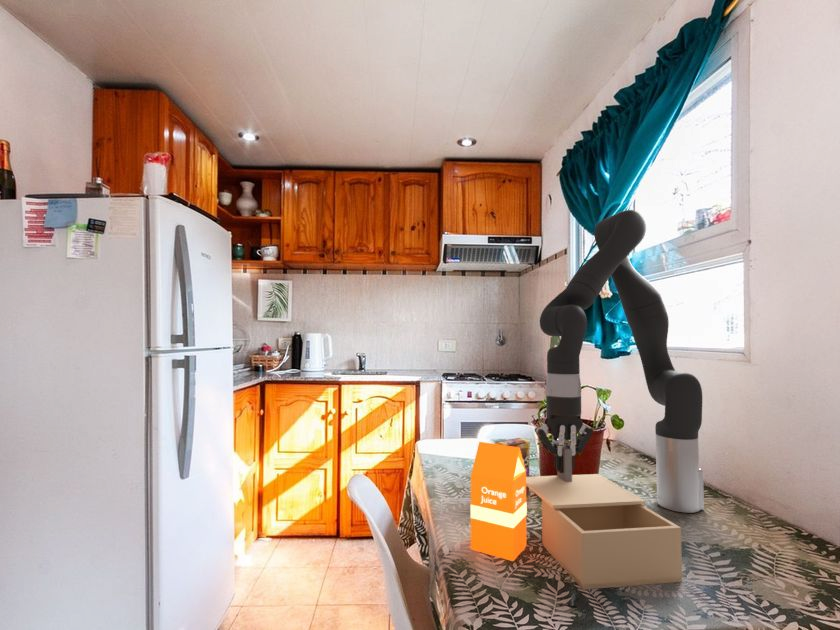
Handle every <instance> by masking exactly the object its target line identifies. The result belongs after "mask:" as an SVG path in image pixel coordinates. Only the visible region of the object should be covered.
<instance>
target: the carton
mask: <svg viewBox="0 0 840 630" xmlns="http://www.w3.org/2000/svg"><path fill="white" fill-rule="evenodd" d="M541 536H542V537H541V543H542V544H541V545H542V546H543V547H544V548H545V549H546V551H548V552H549V554H550V555H551V556H552V557H553V558H554V559H555V560H556V561H557V562H558V564H559V565H560V567H562V568H563V569H564V570H565V571H566V573H568V575H569V576H570V577H571V578H572V579H573V580H574V581H575V583H576V584H577V585H578V586H579V587H580V588H581V590H594V589H608V588H619V587H620V588H621V587H633V586H645V585H646V586H647V585H658V584H660V585H661V584H670V583H672V584H673V583H674V584H675V583H683V567H682V566H683V563H682V562H683V561H682V555H683V554H682V527H681V526H679V525H677V524H675V523H674V522H672V521H671V520H669V519H667V518H665V517H663V516H661V515H660V514H658V513H657V512H656V511H653V510H652V509H650V508H648V507H646V506H645V505H644V504H636V505H616V506H596V507H576V508H556V509H553V508H552V507H550V506H549V505H548V504H547V503H546V502H545V501H544V500H542V499H541Z"/></svg>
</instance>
